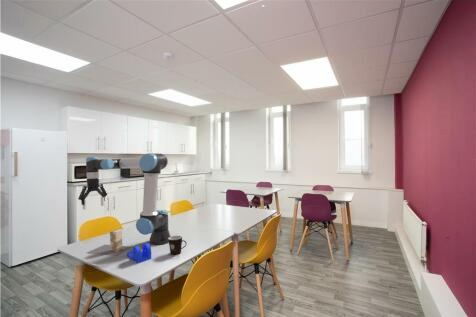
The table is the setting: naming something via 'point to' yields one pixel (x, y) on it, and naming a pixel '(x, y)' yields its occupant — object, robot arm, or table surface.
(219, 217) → the table surface
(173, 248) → the coffee mug
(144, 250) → the bracket
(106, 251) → the charcoal mat
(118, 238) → the birch pillar
